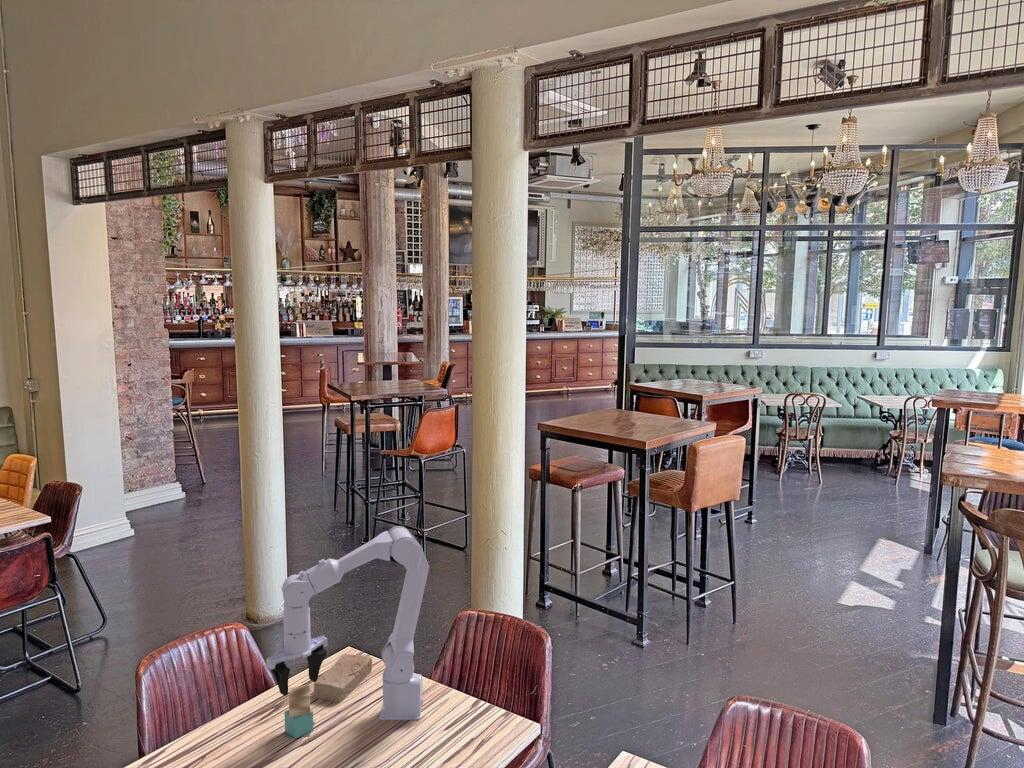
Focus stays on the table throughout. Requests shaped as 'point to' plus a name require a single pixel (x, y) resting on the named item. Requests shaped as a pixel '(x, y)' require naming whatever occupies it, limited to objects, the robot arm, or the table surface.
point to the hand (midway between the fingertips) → (298, 686)
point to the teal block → (298, 724)
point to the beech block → (299, 701)
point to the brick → (342, 677)
